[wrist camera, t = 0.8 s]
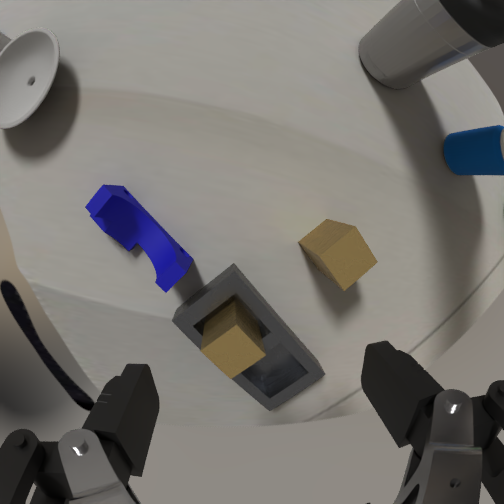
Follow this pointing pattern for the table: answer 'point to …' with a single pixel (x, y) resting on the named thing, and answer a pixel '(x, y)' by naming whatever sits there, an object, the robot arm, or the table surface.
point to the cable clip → (139, 232)
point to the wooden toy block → (338, 252)
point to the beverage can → (476, 151)
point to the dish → (26, 74)
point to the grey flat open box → (272, 332)
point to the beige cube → (232, 338)
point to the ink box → (3, 41)
